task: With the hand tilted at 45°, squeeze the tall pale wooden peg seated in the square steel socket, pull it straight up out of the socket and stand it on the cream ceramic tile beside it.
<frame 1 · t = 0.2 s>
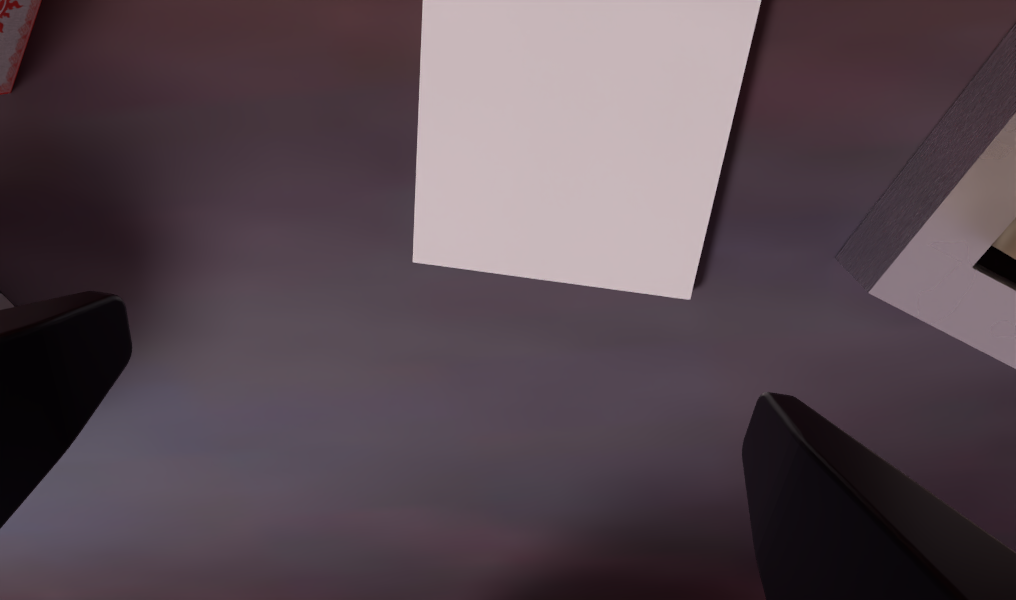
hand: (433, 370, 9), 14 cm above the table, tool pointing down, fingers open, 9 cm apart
tile: (577, 74, 21), on the table
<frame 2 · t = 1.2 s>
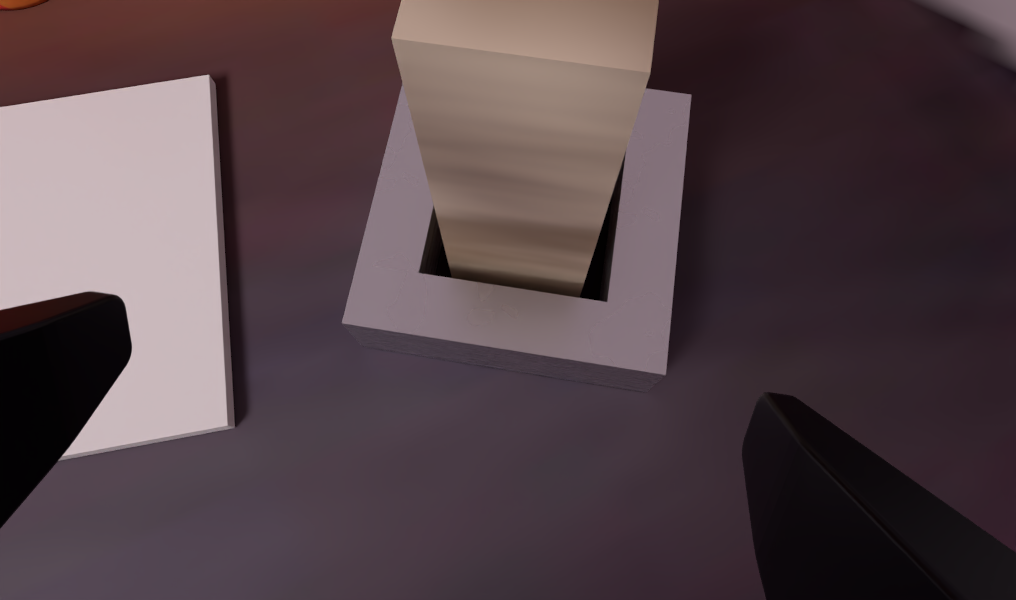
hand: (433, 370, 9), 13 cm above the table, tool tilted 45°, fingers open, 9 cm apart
wooden peg: (524, 239, 24), resting in socket
tile: (87, 264, 24), on the table
socket: (524, 238, 24), on the table
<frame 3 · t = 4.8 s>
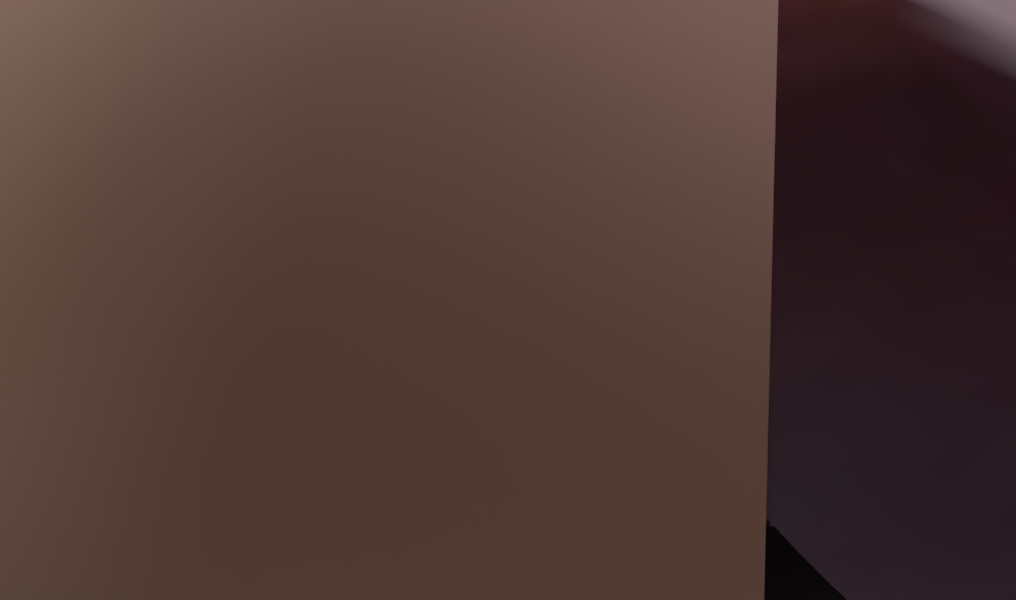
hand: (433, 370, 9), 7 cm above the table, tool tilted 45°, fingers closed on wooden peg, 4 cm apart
wooden peg: (451, 492, 15), resting in socket, touching gripper
when the fingers open (8 cm above the table, at t = 10.3 s): wooden peg stays where it is, resting on tile.
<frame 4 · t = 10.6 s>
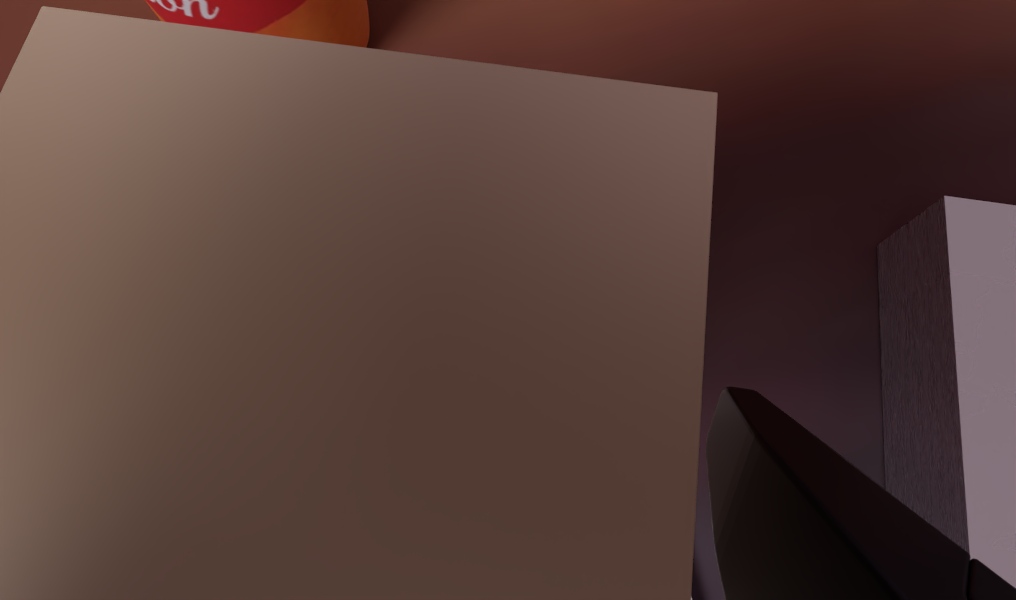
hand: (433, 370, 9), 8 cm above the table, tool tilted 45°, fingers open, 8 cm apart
wooden peg: (454, 492, 16), point 1 cm above the table, touching tile
paper cup: (286, 40, 21), on the table
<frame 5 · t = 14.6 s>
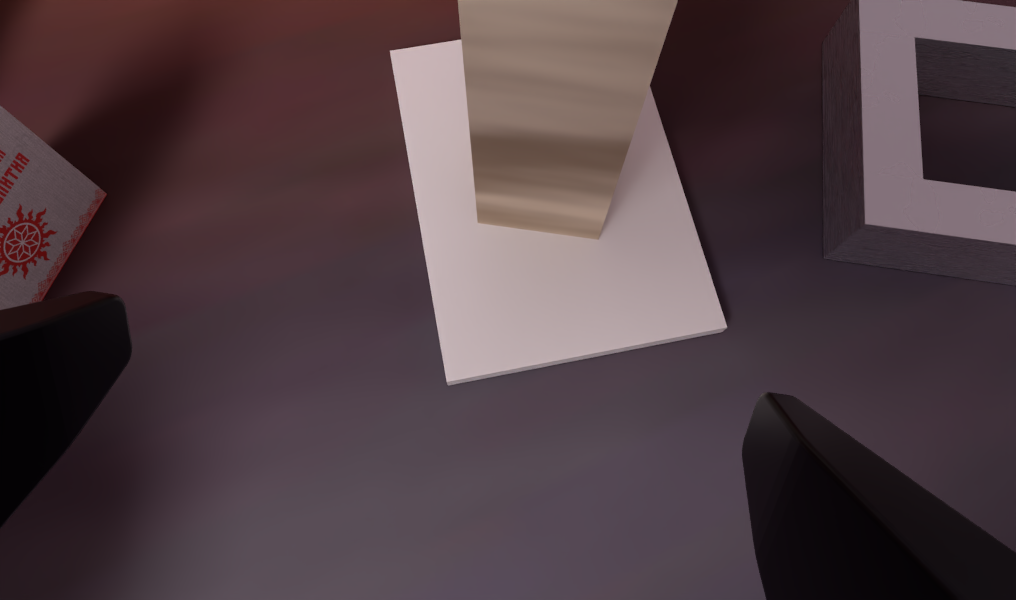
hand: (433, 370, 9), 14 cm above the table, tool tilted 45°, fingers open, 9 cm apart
white printed carton: (21, 258, 25), on the table
wooden peg: (545, 178, 25), point 1 cm above the table, touching tile
tile: (544, 186, 25), on the table
socket: (950, 161, 26), on the table
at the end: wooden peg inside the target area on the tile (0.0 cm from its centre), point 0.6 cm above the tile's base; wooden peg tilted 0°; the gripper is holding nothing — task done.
